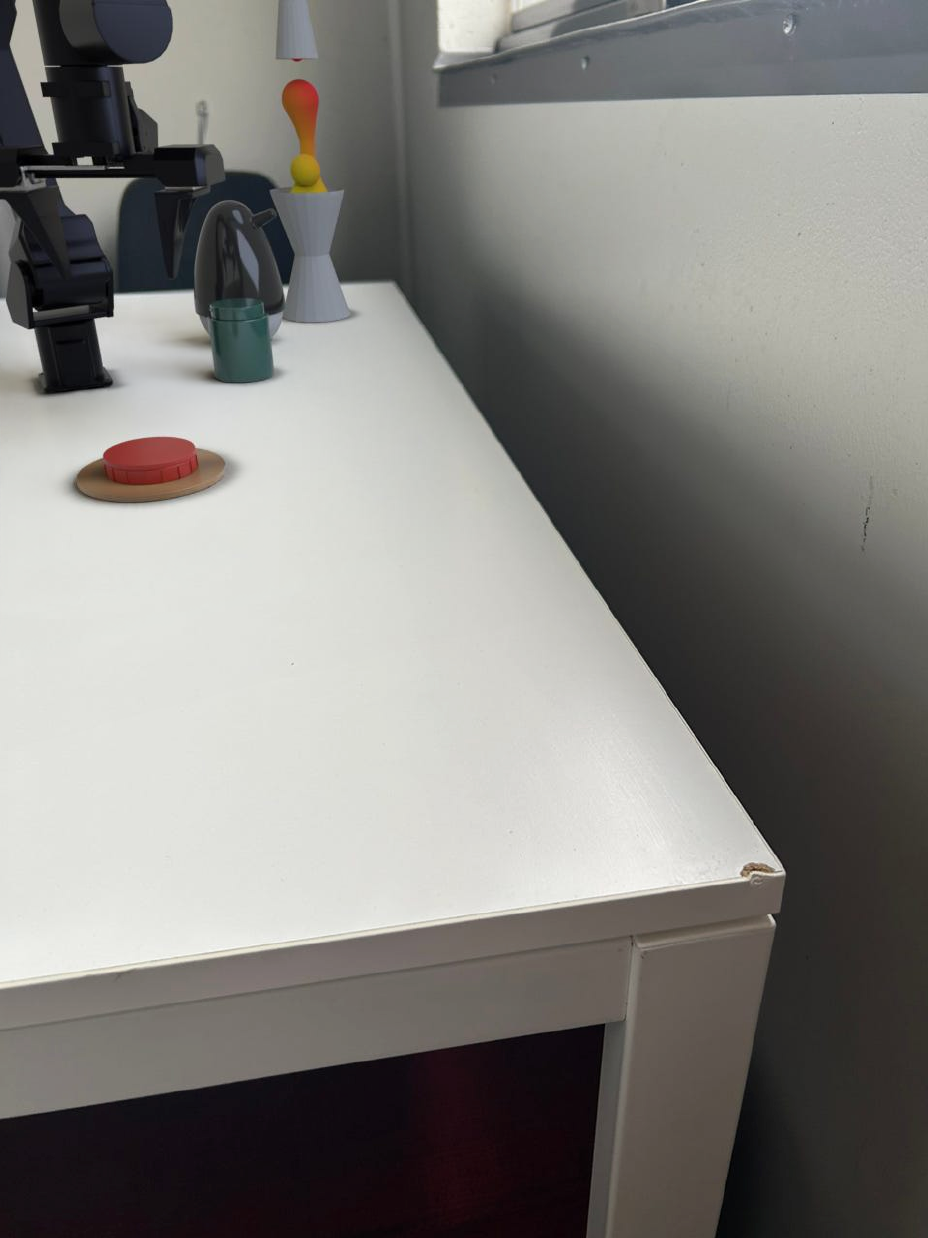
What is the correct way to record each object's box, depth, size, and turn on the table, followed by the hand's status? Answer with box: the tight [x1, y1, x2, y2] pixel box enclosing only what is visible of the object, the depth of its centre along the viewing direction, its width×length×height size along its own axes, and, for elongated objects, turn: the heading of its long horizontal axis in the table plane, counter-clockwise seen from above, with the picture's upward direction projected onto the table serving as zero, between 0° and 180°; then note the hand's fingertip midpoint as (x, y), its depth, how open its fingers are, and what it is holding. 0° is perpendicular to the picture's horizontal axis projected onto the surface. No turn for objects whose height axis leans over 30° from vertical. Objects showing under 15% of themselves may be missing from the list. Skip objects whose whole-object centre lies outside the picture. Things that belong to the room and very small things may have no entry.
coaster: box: [75, 447, 227, 503], centre depth 76 cm, size 11×11×1 cm
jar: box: [208, 298, 275, 384], centre depth 100 cm, size 6×6×7 cm
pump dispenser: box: [193, 199, 286, 339], centre depth 111 cm, size 10×10×15 cm
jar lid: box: [102, 436, 198, 485], centre depth 75 cm, size 7×7×2 cm
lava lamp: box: [269, 0, 351, 323], centre depth 119 cm, size 9×9×35 cm
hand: (119, 278), depth 83 cm, fingers open, 9 cm apart
